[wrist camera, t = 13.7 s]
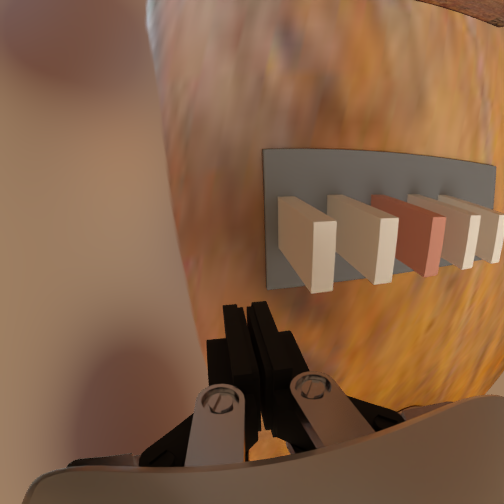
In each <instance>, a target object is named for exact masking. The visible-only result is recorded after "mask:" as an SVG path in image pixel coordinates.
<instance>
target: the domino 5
mask: <svg viewBox="0 0 504 504" xmlns="http://www.w3.org/2000/svg"><path fill="white" fill-rule="evenodd" d="M438 201H441V202H444V203H447V204H450V205H453V206H456V207H459V208H462V209H465V210H468V211H471V212H473V213H476V214H479V215H481V219H480V226H479V233H478V239H477V245H476V251H475V255H476V256H478V257H479V258H481V259H483V260H485V261H487V262H489V263H491V264H492V263H497V262H499V259H500V254H501V249H502V244H503V238H504V214H503V213H501V212H498V211H495V210H492V209H489V208H486V207H483V206H480V205H477V204H474V203H471V202H468V201H465V200H462V199H458V198H455V197H452V196H448V195H438Z"/></svg>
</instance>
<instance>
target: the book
mask: <svg viewBox="0 0 504 504" xmlns="http://www.w3.org/2000/svg"><path fill="white" fill-rule="evenodd" d="M416 1H421V2H425V3H429V4H433V5H436V6H440V7H443V8H447V9H450V10H453V11H456V12H459V13H462V14H465V15H468V16H471V17H474V18H476V19H479V20H482V21H484V22H487V23H489V24H492V25H494V26H496V27H503V26H504V0H416Z"/></svg>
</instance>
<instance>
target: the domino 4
mask: <svg viewBox="0 0 504 504" xmlns="http://www.w3.org/2000/svg"><path fill="white" fill-rule="evenodd" d="M407 203H410V204H413V205H416V206H418V207H421V208H424V209H427V210H430V211H432V212H435V213H438V214H440V215H443V216H445V217H446V225H445V232H444V239H443V246H442V252H441V258H443V259H445V260H446V261H448V262H450V263H451V264H453V265H455V266H457V267H458V268H460V269H462V270H463V269H468V268H472V266H473V261H474V256H475V251H476V245H477V239H478V233H479V226H480V219H481V215H479V214H476V213H473V212H471V211H468V210H465V209H462V208H459V207H456V206H453V205H450V204H447V203H444V202H441V201H438V200H435V199H432V198H428V197H425V196H422V195H419V194H408V197H407Z"/></svg>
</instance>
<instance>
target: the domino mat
mask: <svg viewBox="0 0 504 504" xmlns="http://www.w3.org/2000/svg"><path fill="white" fill-rule="evenodd" d="M262 152H263V182H264V216H265V255H266V288H267V290H272V289H281V288H290V287H299V286H305V284H304V283H303V281H302V280H301V278H300V277H299V276H298V274H297V273H296V271H295V270H294V269H293V267H292V266H291V264H290V263H289V262H288V260H287V259H286V257H285V256H284V255H283V253H282V252H281V250H280V249H279V248H278V197H286V196H295V197H297V198H298V199H300V200H302V201H304V202H305V203H307V204H309V205H311V206H312V207H314V208H316V209H318V210H319V211H321V212H323V213H324V214H326V215H327V195H344V196H347V197H350V198H352V199H355V200H357V201H360V202H362V203H365V204H367V205H370V206H371V195H386V196H389V197H392V198H395V199H398V200H401V201H404V202H407V197H408V194H419V195H422V196H425V197H428V198H432V199H435V200H438V195H448V196H452V197H455V198H458V199H462V200H465V201H468V202H471V203H474V204H477V205H480V206H483V207H486V208H489V209H492V210H493V204H494V193H495V180H496V166H491V165H485V164H479V163H473V162H467V161H461V160H454V159H447V158H439V157H431V156H422V155H413V154H402V153H391V152H377V151H361V150H338V149H262ZM477 260H482V259H481V258H479V257H478V256H476V255H475V256H474V261H477ZM448 265H453V264H451V263H450V262H448V261H446V260H445V259H443V258H440V263H439V267H442V266H448ZM411 271H414V270H413V269H411V268H410V267H408V266H407V265H405V264H404V263H402V262H401V261H399V260H398V259H396V258H395V260H394V267H393V274H398V273H404V272H411ZM363 278H366V277H364V276H363V275H362V274H361V273H360V272H359V271H358V270H356V269H355V268H354V267H353V266H352V265H351V264H349V263H348V262H347V261H346V260H345V259H344V258H342V257H341V256H340V255H339V254H338V253H337V252H335V266H334V280H333V282H340V281H348V280H355V279H363Z"/></svg>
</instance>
